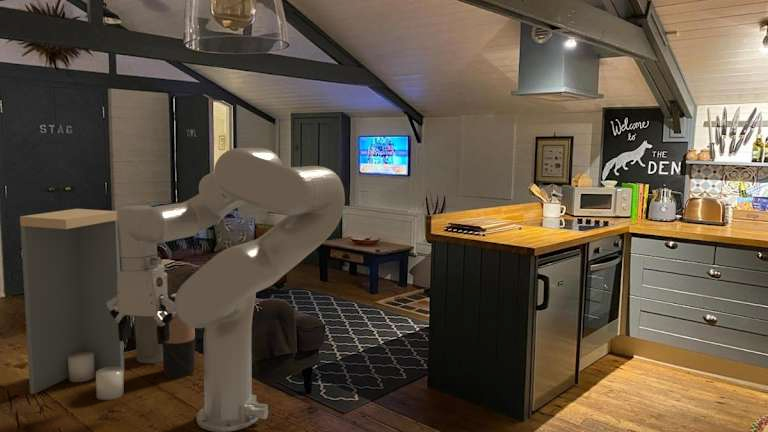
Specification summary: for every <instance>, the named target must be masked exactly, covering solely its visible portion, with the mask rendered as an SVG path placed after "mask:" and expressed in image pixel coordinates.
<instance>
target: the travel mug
mask: <svg viewBox="0 0 768 432" xmlns="http://www.w3.org/2000/svg"><path fill="white" fill-rule="evenodd" d="M167 294H168V299H170V300H171V301H173V302H175V297H176V294H177V291H175V292H171V291H167ZM168 311H169V309H168ZM168 311H166V313H167V314H168ZM175 314H176V313H175ZM162 319H163V318H162ZM195 330H196V328H194V327H190V326H188V325H186V324H184V323H183V322H182V321H181V320H180V319H179V318H178V316H177V314H176V315H175V317H174V318H173V319H172V320H171V322H170V323H169V333H170V337H169V341H167V342H165V343H163V344H162V348H163V361H162V363H163V373H164V376H166V377H168V378H184V377H187V376H190V375H193V373H195V366H196V365H195V363H196V362H195V361H196V360H195V357H196V356H195V354H196V331H195Z"/></svg>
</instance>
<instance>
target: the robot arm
mask: <svg viewBox="0 0 768 432" xmlns="http://www.w3.org/2000/svg"><path fill="white" fill-rule="evenodd" d="M345 196H346V195H345V188H344V185H343V182H342V179H341V178H340V177H339V175H338V174H336V172H335V171H333V170H332V169H329V168H327V167H325V166H320V165H308V166H304V165H303V166H292V167H291V166H290V167H289V166H286V165H283V162H282V161H281V159H280V158H279V156H278V155H277V154H276V153H275V152H274V151H272V150H270V149H267V148H263V147H236V148H231V149H228V150H227V151H225V152H223V153H222V154H221V155H220V156H219V157H218V159H217V160H216V162H215V165H214V169H213V171H212V172H210V173H208V174H206V175H204V176H203V177H202V178H201V180H200V181H199V184H198V194H196V195H195V196H192V197H191V198H189V199H188V200H186V201H183V202H179V203H171V204H162V205H157V206H150V205H143V204H141V205H126V206H122V207H119V209H118V210H116V211H117V229H118V243H119V256H120V270H119V272H118V278H117V296H116V297H115V298H113V299H111V300H109V301H108V302H107V303H106V304H107V306H108V308H109V310H110V314H111V315H112V316H113V317H114V319H115V322H116V323H118V331H119V341H123V342H124V341H126V340H129V339H131V338H132V325H131V323H132V322H131V320H130V319H129V317H130V316H131V317H135V316H140V317H154V319H155V320H156V321H157V323H158V324H159V326H157V339H158V344H163V343H165V342H167V341H169V337H170V333H169V323H170V322H171V320H172V319H173V318H174V317H175V315H176V314H177V316H178V318H179V319H180V320H181V321H182V322H183V323H184V324H186V325H188V326H190V327H194V328H195V329H204V331H203V341H202V342H203V347H202V348H203V389H204V390H203V391H204V392H203V394H204V396H203V399H204V406H203V408H201V409H200V410H199V411H198V412H197V414H196V423H197V425H198V426H199V427H200V428H202V429H203V430H207V431H210V432H236V431H240V430H242V429H246V428H248V427H250V426H252V425H253V424H255V423H256V422H257V421H258V420H259V419H262V420H263V419H264V420H266V419H267V418H268V416H269V406H268V404H265V403H259V402H258V401H257V395H256V394H253V393H252V391H253V388H252V387H253V384H252V383H253V381H252V379H253V378H252V374H253V372H252V369H253V368H252V342H253V341H252V337H253V336H252V330H253V329H252V328H253V326H252V325H253V316H254V315H253V314H254V310H255V305H256V304H255V303H256V296H257V293H258V292H260V291H263V290H265V289H267V288H269V287H271V286H273V285H274V284H275V283H277V282H278V281H279V280H280V279H281V278H283V277H284V275H286V274H287V273H288V272H289V271H291V270H292V269H294V268H295V267H296V266H297V265H298V264H300V263H301V262H302V261H303V260H304V259H306V257H307V256H309V255H310V254H312V253H313V251H315V250H316V249H317V248H319V247H320V246H321V245H322V244H323V243H324V242H325V241H326V240H327V239H328V238H330V236H331V235H332V233H333V232H334V231H335V230H336V229H337V227H338V225H339V224H340V222H341V219H342V217H343V213H344V209H345V201H346V200H345V199H346V197H345ZM247 203H248V204H251V205H254V206H257V207H259V208H261V209H264V210H267V211H270V212H273V213H275V214H278V215H282V216H284V217H283V218H282V219H280V220H279V221H278V222H277V223H276V224H274V226H272V227H271V228H270V229H268V230H267V231H266V232H265V233H263V235H261V236H258V238H256V239H253V240H250V241H247V242H244V243H240V244H236V245H234V246H233V245H232V246H230V247H228V248H225V249H223V250H221V252H218V253H217V254H216V255H214V256H213V257H212V258H211V259H210V260H208V261H207V262H206V263H205V264H203V265H202V266H201V267H200V268H199V269H198V270H197V271H195V272H194V273H193V274H192V275H191V276H189V277H188V278H187V279H186V280H185V281H184V282H183V283H182V284H181V285H180V286H179V288H178V290H177V291H176V292H177V294H176V297H175V302H173V301H171V300H170V299H168V294H167V289H168V286H167V287H166V282H165V278H164V274H163V271H162V269H161V268H158V265H161V264H162V261H163V260H162V259H161V258H160V259H158V255H157V252H158V244H163V243H167V242H170V241H176V240H179V239H185V238H189V237H192V236H195V235H196V234H199V233H200V232H203V231H204V230H206V229H208V228H211V227H212V226H214V225H216V224H217V223H219V222H220V221H221V220H222V219H224V218H225V217H226V216H227V214H228V213H230V212H233V211H234V210H236V209H237V208H239V207H242V206H243V205H245V204H247ZM168 309H169V311H168ZM166 311H168V314H167V313H166ZM175 313H176V314H175ZM160 315H161V316H160ZM162 318H163V319H162Z"/></svg>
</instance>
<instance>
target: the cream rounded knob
mask: <svg viewBox="0 0 768 432" xmlns="http://www.w3.org/2000/svg"><path fill="white" fill-rule="evenodd" d="M68 374H69V377H68V381H70V382H72V383H79V382H80V383H81V382H82V383H83V382H87V381H89V380H92V379H94V378H96V372H95V367H94V353H93V352H90V351H81V352H76V353H73V354H70V355H69V356H68Z"/></svg>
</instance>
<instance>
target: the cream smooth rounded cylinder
mask: <svg viewBox="0 0 768 432" xmlns="http://www.w3.org/2000/svg"><path fill="white" fill-rule="evenodd" d="M124 380H125V379H124V374H123V368H121V367H115V366H113V367H105V368H102V369H99V370H97V371H96V372H95V389H96V390H95V392H96V393H95V395H96V399H98V400H100V401H111V400H114V399H118V398H120V397H122V396H123V395H124V393H125V392H124V389H125V388H124V383H125V382H124Z"/></svg>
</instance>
